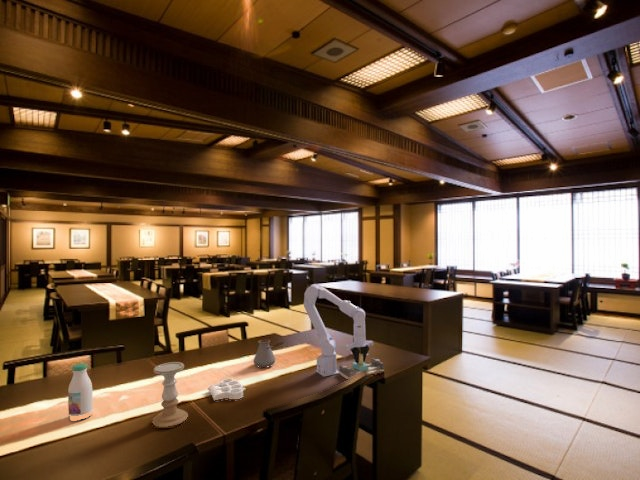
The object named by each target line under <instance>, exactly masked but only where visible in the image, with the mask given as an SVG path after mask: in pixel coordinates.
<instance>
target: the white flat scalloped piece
mask: <svg viewBox="0 0 640 480" xmlns="http://www.w3.org/2000/svg"><path fill="white" fill-rule="evenodd" d="M219 387H221V388H219ZM246 389H247V388H245V387H243V384H242V383H241V382H240V381H239V380H234V378H224V379H221V381H220V382H219V383H214V384H212V385H210V386H208V387H207V391H208V390H209V391H210V392H209V391H208V392H209V394H210V393H211V394H210V396H211V395H212V396H211V397H212V399H213V401H215V400H218V399H223V398H229V399H240V398H242V397H243V398H244V391H245V390H246ZM243 398H242V399H243ZM240 400H241V399H240Z"/></svg>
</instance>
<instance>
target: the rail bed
mask: <svg viewBox="0 0 640 480" xmlns="http://www.w3.org/2000/svg"><path fill="white" fill-rule="evenodd" d="M370 360H371V362H370V363H369V364H368V363H366V364H367V365H369V369H367V370H363V371H359V370H357V369H355V368H354V367H349V368H348V366H347V365H342V364H339V365H338V366H339V367H338V369H339V370H338V371H339V373H338V374H339V376H341V377H343V378H345V380H347V379H348V378H350V377H352V376H354V375H356V374H358V373H363V374H371V373H375V372H379V371H384V372H385V363H383V362H382V361H381V360H380V359H378V358H373V357H372V358H371V359H370Z"/></svg>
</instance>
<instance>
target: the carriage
mask: <svg viewBox="0 0 640 480" xmlns="http://www.w3.org/2000/svg"><path fill="white" fill-rule="evenodd" d="M367 364H368V363H365V362H363V354H362V353H359V363H356V362H355V361H353V362H351V368H353V367H354V368H355V369H357V370H359V371H363V370H367V369H369V365H367Z"/></svg>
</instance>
